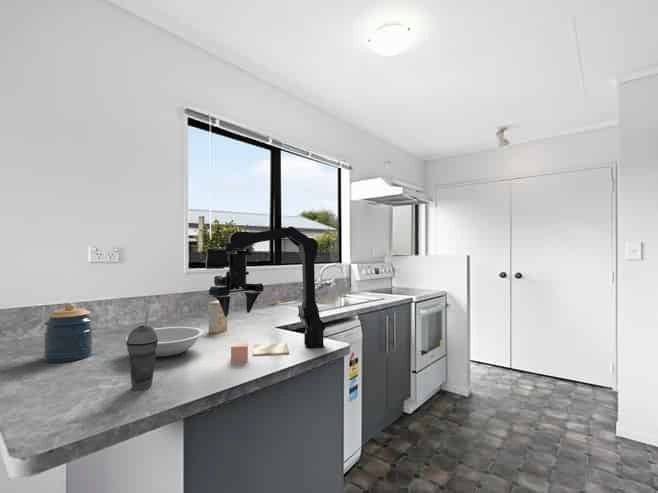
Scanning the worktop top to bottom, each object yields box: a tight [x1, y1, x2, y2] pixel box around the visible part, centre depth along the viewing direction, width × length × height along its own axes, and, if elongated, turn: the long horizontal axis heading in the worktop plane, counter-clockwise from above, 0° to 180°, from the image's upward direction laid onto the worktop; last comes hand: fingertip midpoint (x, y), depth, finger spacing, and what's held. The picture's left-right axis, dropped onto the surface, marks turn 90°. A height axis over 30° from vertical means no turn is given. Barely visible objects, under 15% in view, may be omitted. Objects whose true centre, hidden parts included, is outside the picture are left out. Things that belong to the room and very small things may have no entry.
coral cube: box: [230, 341, 249, 364], centre depth 113 cm, size 5×5×5 cm
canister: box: [42, 302, 94, 363], centre depth 115 cm, size 13×13×18 cm
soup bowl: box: [125, 326, 205, 357], centre depth 119 cm, size 24×24×7 cm
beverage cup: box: [125, 308, 158, 391], centre depth 90 cm, size 7×7×20 cm
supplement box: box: [208, 300, 228, 334], centre depth 153 cm, size 8×5×13 cm, turn 168°
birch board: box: [252, 342, 290, 357], centre depth 125 cm, size 12×12×1 cm
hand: (237, 314), depth 120 cm, fingers open, 9 cm apart
